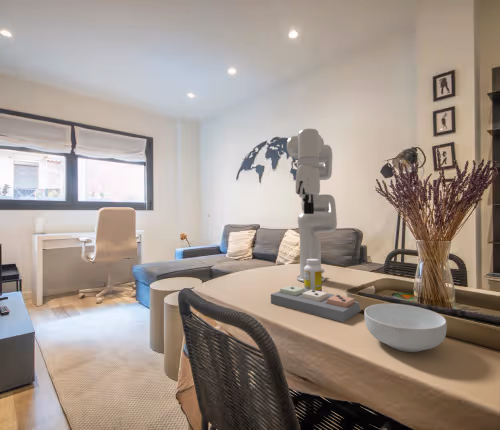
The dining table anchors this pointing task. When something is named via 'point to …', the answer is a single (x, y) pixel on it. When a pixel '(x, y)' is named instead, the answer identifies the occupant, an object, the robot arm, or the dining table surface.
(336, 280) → the dining table surface
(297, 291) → the knob block
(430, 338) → the cereal bowl
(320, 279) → the supplement bottle
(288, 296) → the grey flat board
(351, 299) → the pink block
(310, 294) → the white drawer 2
